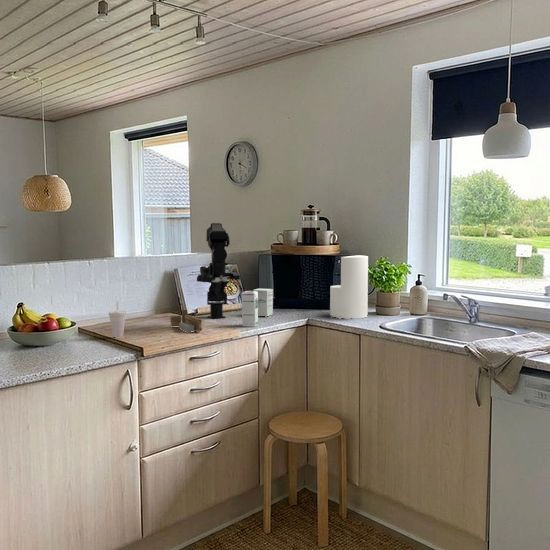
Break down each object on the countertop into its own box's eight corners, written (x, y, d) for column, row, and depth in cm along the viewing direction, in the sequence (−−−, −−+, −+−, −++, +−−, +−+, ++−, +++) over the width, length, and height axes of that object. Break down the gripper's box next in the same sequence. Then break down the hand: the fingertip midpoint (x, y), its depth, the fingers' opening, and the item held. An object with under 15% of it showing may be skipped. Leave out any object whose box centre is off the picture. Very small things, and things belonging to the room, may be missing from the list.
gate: (188, 326, 234) (188, 314, 233) (202, 331, 222) (202, 319, 221) (184, 326, 233) (184, 315, 233) (197, 331, 221) (197, 319, 220)
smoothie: (111, 339, 208) (110, 302, 207) (107, 336, 214) (106, 300, 212) (128, 338, 211) (127, 301, 210) (124, 335, 217) (123, 299, 215)
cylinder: (373, 315, 265) (374, 255, 262) (358, 320, 250) (358, 257, 248) (340, 312, 274) (340, 255, 272) (323, 317, 259) (323, 256, 257)
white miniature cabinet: (255, 327, 234) (255, 292, 233) (241, 326, 235) (241, 292, 234) (258, 324, 240) (258, 290, 239) (245, 324, 241) (245, 290, 240)
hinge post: (170, 327, 233) (170, 310, 233) (186, 326, 237) (186, 309, 236) (172, 328, 232) (171, 311, 231) (188, 326, 235) (188, 310, 234)
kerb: (179, 329, 229) (179, 322, 229) (186, 328, 230) (186, 322, 230) (186, 333, 221) (186, 325, 221) (194, 332, 222) (193, 325, 222)
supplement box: (252, 316, 262) (252, 289, 261) (259, 314, 269) (259, 288, 268) (267, 317, 259) (267, 290, 258) (273, 315, 266) (273, 288, 265)
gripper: (224, 258, 246) (224, 294, 247) (188, 260, 233) (189, 298, 235) (240, 259, 238) (240, 296, 239) (204, 261, 225) (205, 300, 227)
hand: (219, 297), depth 235 cm, fingers closed
